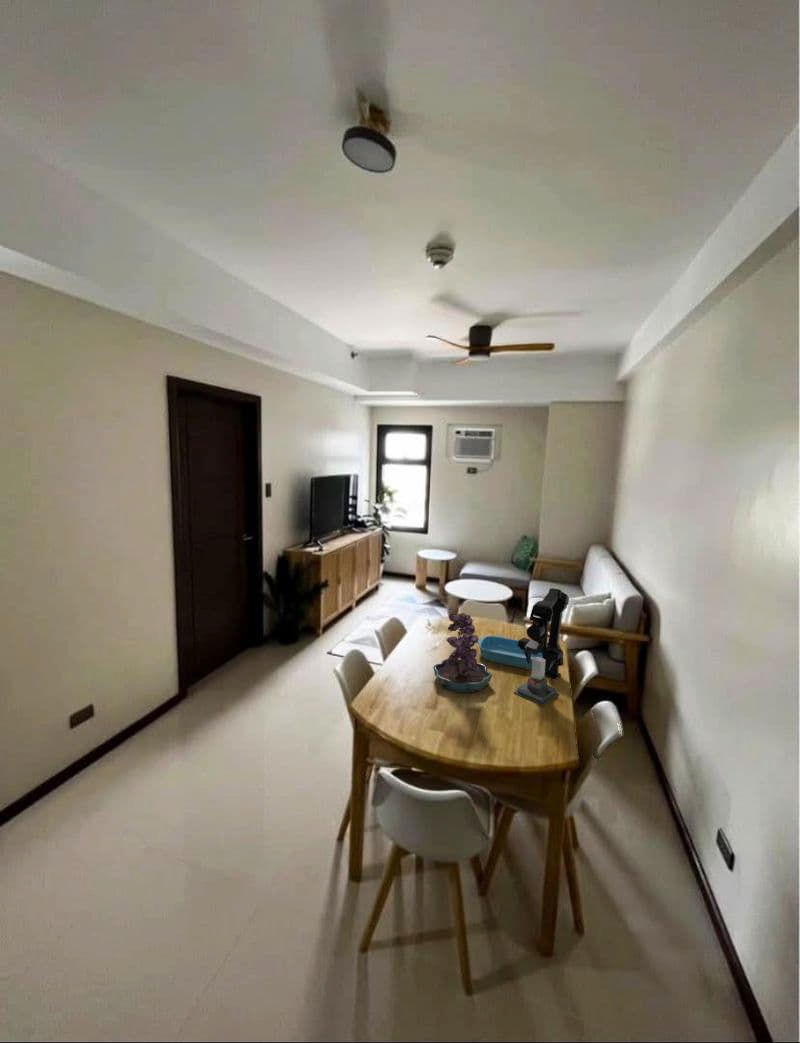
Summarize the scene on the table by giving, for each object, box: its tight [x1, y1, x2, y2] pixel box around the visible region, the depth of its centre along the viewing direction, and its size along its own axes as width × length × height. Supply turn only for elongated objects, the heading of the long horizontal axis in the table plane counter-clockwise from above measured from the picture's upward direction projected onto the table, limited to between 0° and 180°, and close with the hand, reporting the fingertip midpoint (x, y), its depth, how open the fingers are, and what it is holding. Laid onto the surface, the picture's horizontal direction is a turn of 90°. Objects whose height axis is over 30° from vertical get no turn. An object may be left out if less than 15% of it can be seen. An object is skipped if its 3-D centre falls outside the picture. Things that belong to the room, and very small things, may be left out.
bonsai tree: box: [432, 612, 493, 693], centre depth 193 cm, size 35×27×32 cm
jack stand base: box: [513, 676, 560, 706], centre depth 189 cm, size 14×14×7 cm
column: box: [530, 657, 546, 682], centre depth 188 cm, size 4×4×11 cm
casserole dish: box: [476, 635, 542, 670], centre depth 223 cm, size 37×22×7 cm, turn 67°
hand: (538, 667), depth 188 cm, fingers open, 9 cm apart
